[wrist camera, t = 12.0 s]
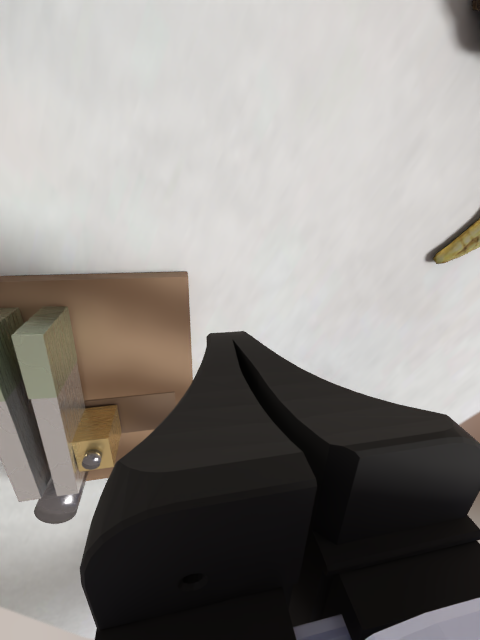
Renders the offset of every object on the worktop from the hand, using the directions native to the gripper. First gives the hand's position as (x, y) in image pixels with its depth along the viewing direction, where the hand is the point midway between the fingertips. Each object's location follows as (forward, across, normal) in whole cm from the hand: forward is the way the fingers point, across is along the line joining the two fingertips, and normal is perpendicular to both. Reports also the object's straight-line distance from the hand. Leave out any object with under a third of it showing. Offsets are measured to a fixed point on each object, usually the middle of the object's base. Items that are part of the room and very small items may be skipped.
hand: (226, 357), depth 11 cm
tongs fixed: (+9, +10, +8) cm, 16 cm away
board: (+10, +7, +8) cm, 14 cm away
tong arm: (+8, +9, +6) cm, 14 cm away
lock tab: (+8, +7, +10) cm, 15 cm away
